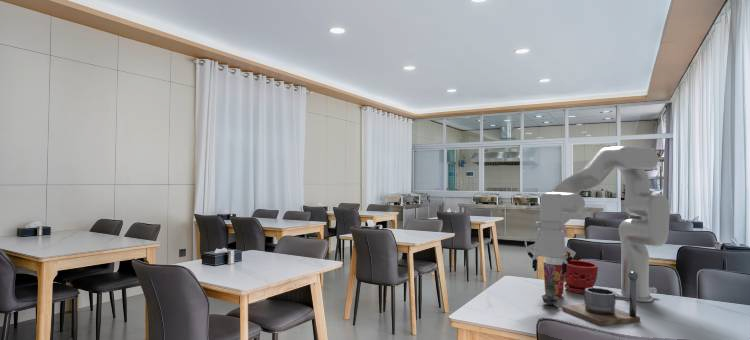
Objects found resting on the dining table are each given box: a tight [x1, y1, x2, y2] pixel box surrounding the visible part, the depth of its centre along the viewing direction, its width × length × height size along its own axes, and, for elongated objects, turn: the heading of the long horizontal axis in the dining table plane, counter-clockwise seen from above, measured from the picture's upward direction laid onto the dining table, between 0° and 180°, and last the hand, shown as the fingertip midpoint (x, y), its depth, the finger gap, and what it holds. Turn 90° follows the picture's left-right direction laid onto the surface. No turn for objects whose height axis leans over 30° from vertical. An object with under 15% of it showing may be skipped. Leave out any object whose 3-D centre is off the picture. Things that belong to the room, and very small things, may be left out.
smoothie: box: [542, 257, 565, 298], centre depth 175 cm, size 8×8×20 cm
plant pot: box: [564, 259, 599, 295], centre depth 183 cm, size 13×13×12 cm
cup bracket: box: [561, 271, 641, 327], centre depth 150 cm, size 17×17×16 cm
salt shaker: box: [541, 274, 560, 310], centre depth 160 cm, size 6×6×12 cm
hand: (549, 272), depth 160 cm, fingers open, 9 cm apart
